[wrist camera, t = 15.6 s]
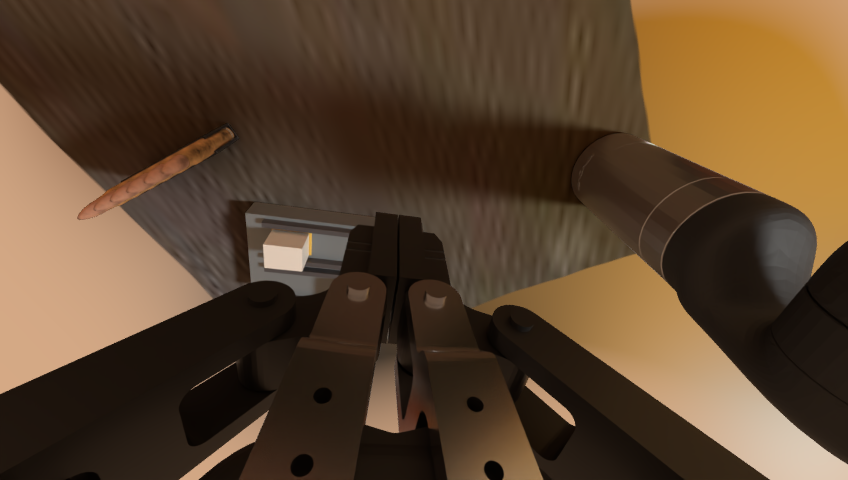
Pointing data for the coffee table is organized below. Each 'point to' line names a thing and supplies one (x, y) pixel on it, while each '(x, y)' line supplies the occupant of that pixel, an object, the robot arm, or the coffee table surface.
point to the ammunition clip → (162, 170)
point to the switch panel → (324, 243)
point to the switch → (286, 250)
